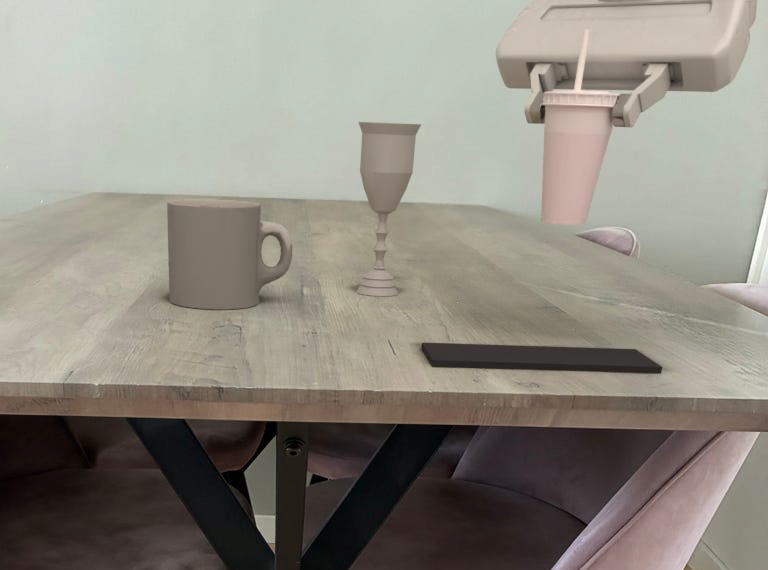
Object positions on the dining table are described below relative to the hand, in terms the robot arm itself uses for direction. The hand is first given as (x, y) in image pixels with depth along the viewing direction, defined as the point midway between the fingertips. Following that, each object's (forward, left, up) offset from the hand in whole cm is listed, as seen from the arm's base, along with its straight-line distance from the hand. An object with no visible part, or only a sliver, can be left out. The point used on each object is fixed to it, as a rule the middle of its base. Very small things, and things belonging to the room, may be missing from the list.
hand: (576, 119), depth 78 cm
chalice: (+34, -8, -19) cm, 40 cm away
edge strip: (-1, +1, -19) cm, 19 cm away
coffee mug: (+35, +12, -19) cm, 42 cm away
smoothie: (0, -1, -8) cm, 8 cm away
